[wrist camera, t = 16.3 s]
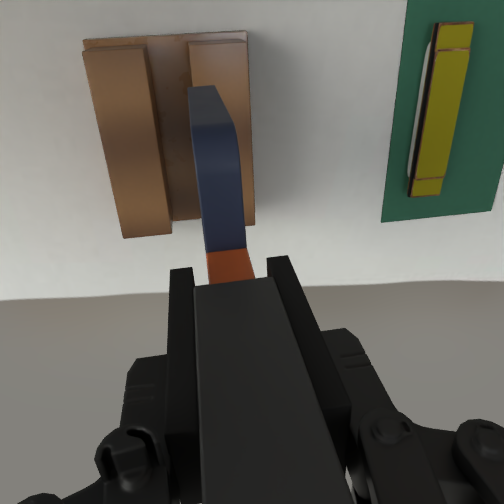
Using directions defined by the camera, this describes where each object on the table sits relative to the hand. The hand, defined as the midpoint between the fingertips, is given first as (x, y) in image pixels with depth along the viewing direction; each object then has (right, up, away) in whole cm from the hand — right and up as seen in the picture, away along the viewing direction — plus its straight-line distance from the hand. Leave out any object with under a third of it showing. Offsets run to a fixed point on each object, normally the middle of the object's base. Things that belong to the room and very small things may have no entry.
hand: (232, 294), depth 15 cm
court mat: (+19, +14, +23) cm, 33 cm away
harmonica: (+17, +13, +21) cm, 30 cm away
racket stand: (-5, +12, +21) cm, 24 cm away
